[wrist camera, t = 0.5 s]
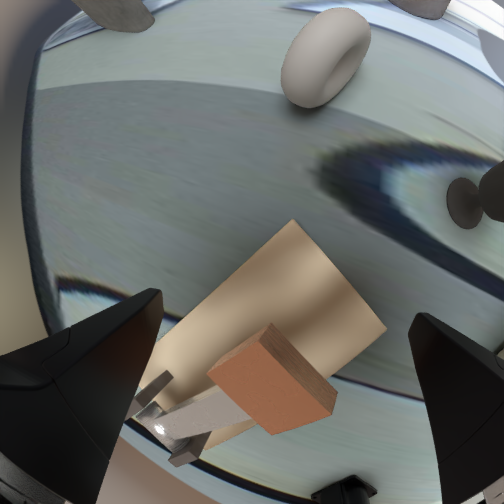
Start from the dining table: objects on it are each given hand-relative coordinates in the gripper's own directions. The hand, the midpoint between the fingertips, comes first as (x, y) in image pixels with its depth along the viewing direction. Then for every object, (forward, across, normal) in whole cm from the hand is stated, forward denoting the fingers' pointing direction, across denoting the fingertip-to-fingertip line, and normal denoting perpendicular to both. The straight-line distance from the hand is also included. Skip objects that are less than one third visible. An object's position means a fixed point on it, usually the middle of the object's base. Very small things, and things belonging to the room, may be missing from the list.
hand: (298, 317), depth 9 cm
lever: (+4, +3, +11) cm, 12 cm away
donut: (+19, -3, -11) cm, 22 cm away
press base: (+11, +1, +13) cm, 17 cm away
